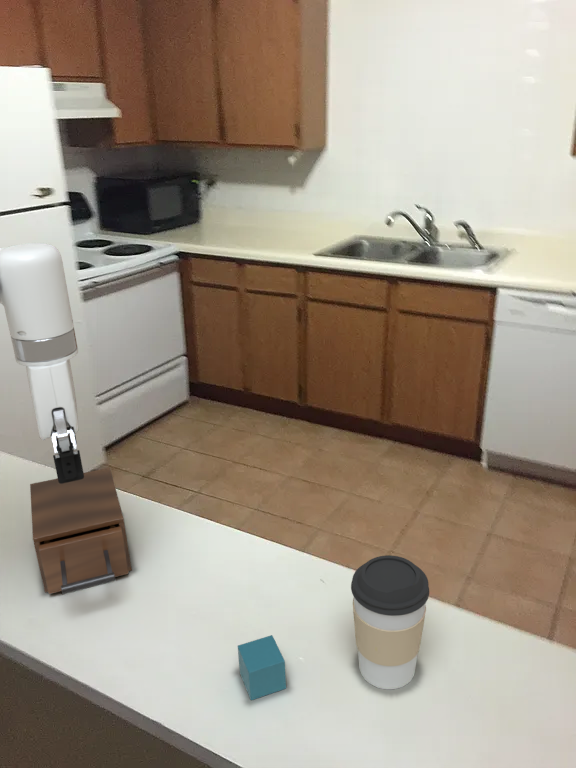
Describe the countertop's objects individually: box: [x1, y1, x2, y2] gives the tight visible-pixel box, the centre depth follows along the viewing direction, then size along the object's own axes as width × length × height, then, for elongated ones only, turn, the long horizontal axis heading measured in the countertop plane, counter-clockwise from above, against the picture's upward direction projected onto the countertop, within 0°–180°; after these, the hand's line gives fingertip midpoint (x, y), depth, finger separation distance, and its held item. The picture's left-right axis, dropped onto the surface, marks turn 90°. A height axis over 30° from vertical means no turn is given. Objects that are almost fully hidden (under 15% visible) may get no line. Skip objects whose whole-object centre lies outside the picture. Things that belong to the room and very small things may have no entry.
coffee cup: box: [350, 554, 430, 690], centre depth 80 cm, size 9×9×15 cm
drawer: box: [39, 525, 130, 595], centre depth 100 cm, size 21×11×8 cm, turn 21°
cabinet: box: [29, 467, 133, 593], centre depth 104 cm, size 16×13×10 cm
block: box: [237, 634, 287, 701], centre depth 81 cm, size 4×4×4 cm
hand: (68, 462), depth 91 cm, fingers open, 9 cm apart
